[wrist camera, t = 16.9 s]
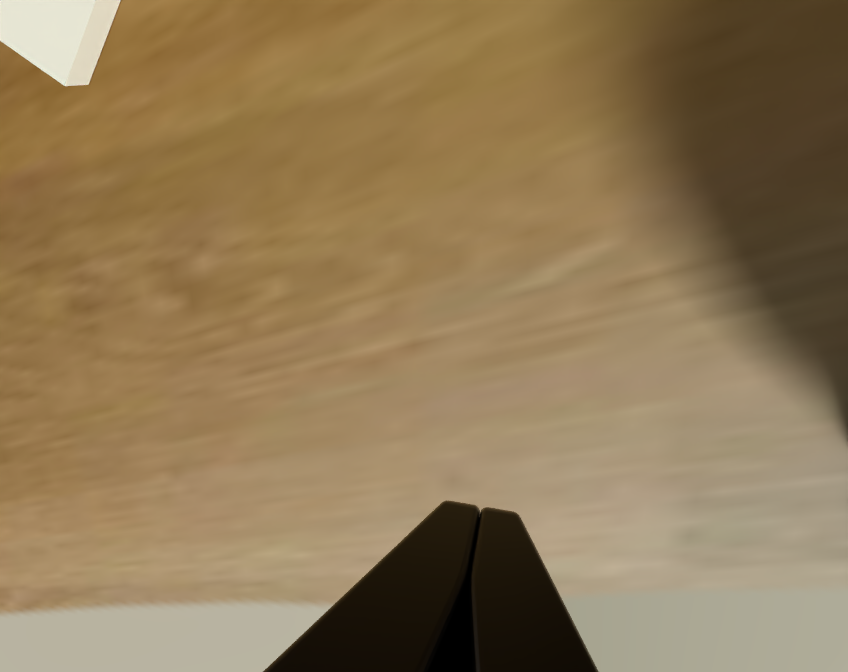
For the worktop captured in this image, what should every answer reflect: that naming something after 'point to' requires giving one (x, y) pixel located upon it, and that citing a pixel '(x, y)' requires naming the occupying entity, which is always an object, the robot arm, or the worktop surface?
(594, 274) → the worktop surface
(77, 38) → the domino board
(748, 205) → the worktop surface
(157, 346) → the worktop surface
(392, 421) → the worktop surface
